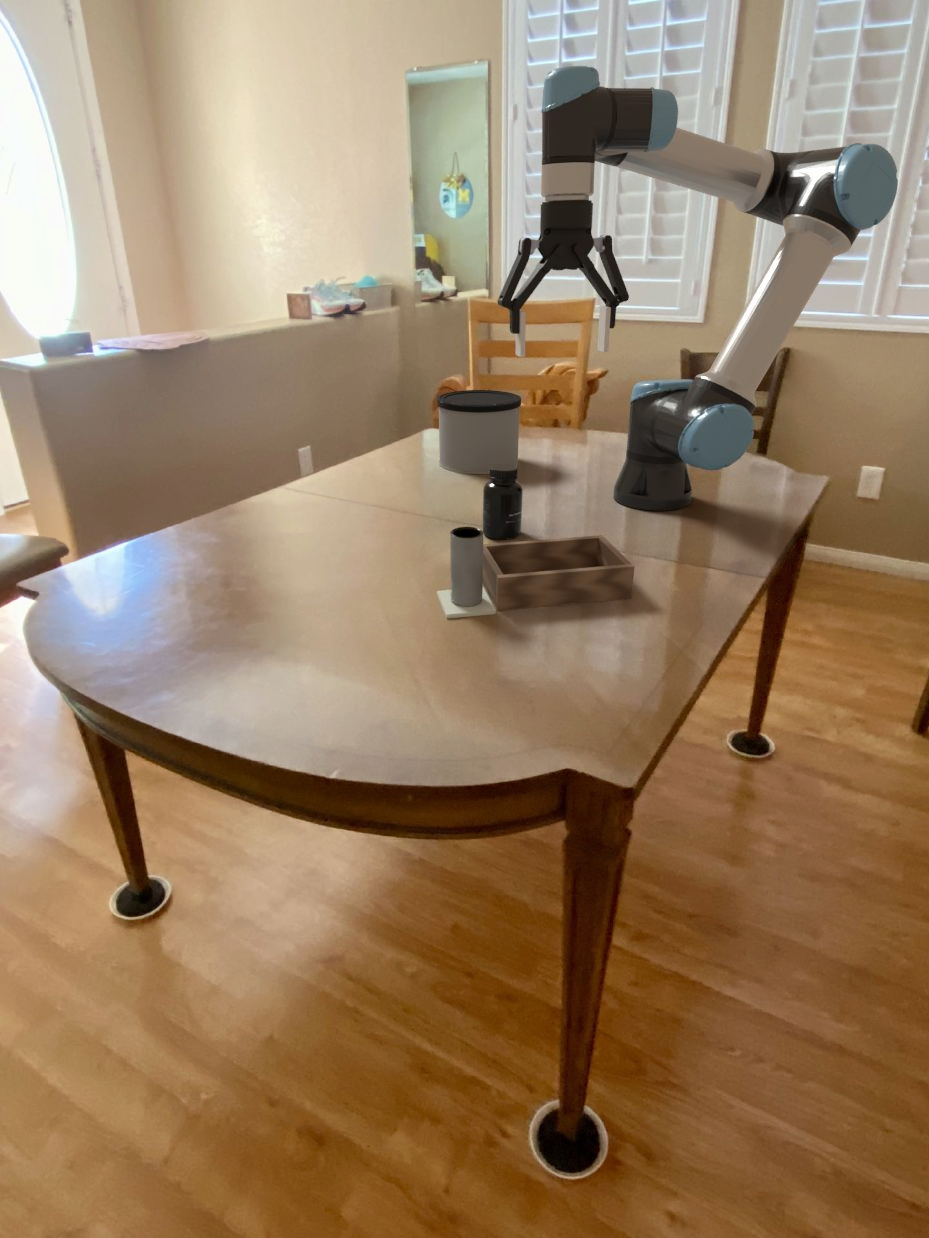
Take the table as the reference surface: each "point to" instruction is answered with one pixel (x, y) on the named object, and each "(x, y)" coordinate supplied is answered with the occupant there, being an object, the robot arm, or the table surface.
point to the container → (478, 430)
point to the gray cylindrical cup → (466, 565)
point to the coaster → (464, 611)
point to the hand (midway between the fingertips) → (561, 353)
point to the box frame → (555, 572)
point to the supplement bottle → (502, 503)
